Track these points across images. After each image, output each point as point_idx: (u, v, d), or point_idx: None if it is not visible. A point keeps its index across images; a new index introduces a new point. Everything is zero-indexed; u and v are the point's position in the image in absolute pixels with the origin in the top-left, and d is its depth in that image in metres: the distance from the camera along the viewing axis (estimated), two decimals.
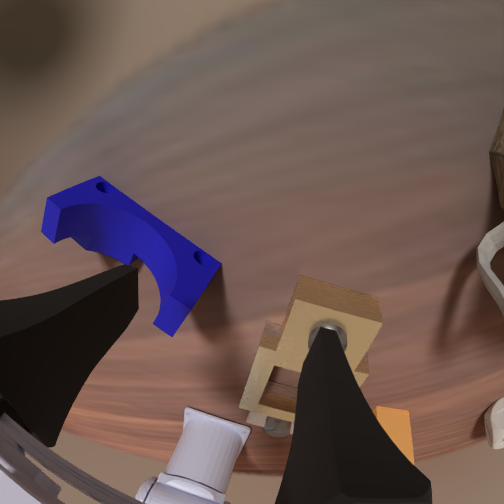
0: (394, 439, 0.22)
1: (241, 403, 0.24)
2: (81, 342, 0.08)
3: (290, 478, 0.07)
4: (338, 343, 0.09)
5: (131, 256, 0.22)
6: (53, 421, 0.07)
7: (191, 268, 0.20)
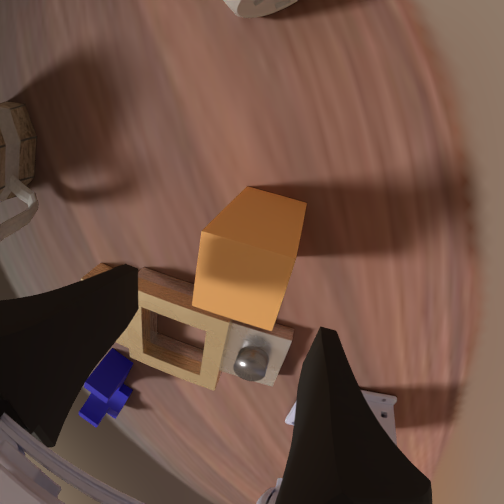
0: None
1: (205, 386, 0.25)
2: (81, 342, 0.08)
3: (290, 478, 0.07)
4: (338, 343, 0.09)
5: (121, 392, 0.33)
6: (53, 421, 0.07)
7: None
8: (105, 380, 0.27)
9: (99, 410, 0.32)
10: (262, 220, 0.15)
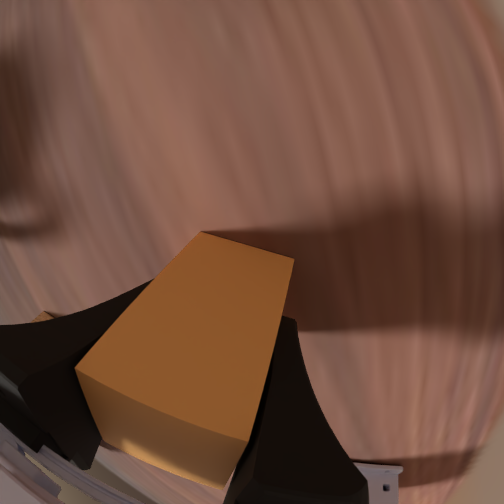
0: None
1: None
2: None
3: (238, 466, 0.07)
4: (293, 331, 0.09)
5: None
6: (90, 445, 0.07)
7: None
8: None
9: None
10: (201, 322, 0.08)
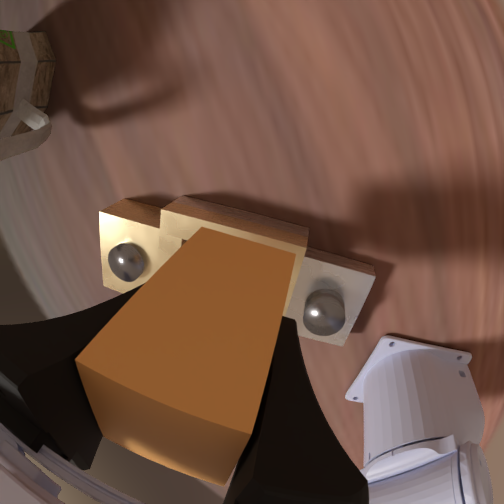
0: None
1: None
2: None
3: (238, 466, 0.07)
4: (293, 331, 0.09)
5: None
6: (90, 445, 0.07)
7: None
8: None
9: None
10: (204, 314, 0.08)
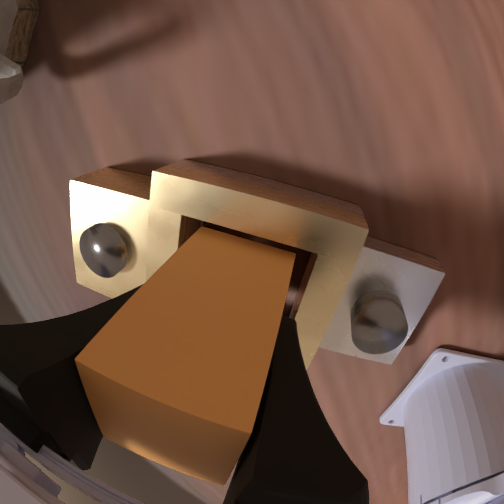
0: None
1: None
2: None
3: (238, 466, 0.07)
4: (293, 331, 0.09)
5: None
6: (90, 445, 0.07)
7: None
8: None
9: None
10: (203, 313, 0.08)
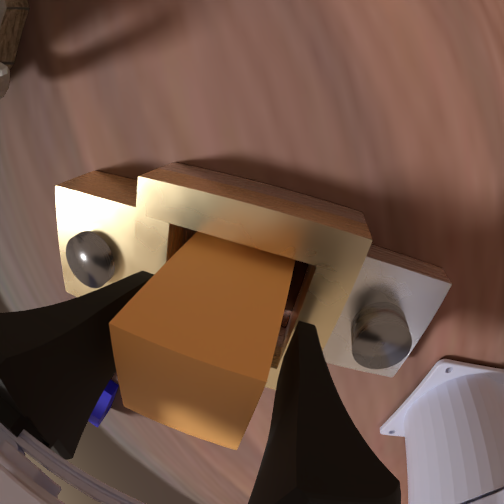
0: None
1: None
2: (100, 352, 0.08)
3: (263, 472, 0.07)
4: (315, 337, 0.09)
5: None
6: (72, 434, 0.07)
7: None
8: None
9: None
10: (221, 287, 0.09)
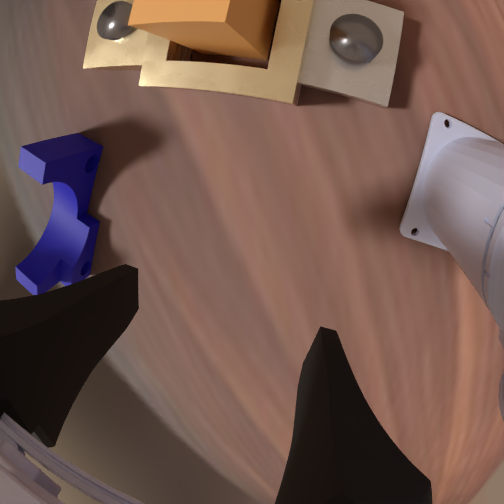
0: None
1: (276, 97, 0.13)
2: (81, 342, 0.08)
3: (290, 478, 0.07)
4: (338, 343, 0.09)
5: (80, 221, 0.21)
6: (53, 421, 0.07)
7: None
8: (52, 149, 0.16)
9: (45, 265, 0.21)
10: None
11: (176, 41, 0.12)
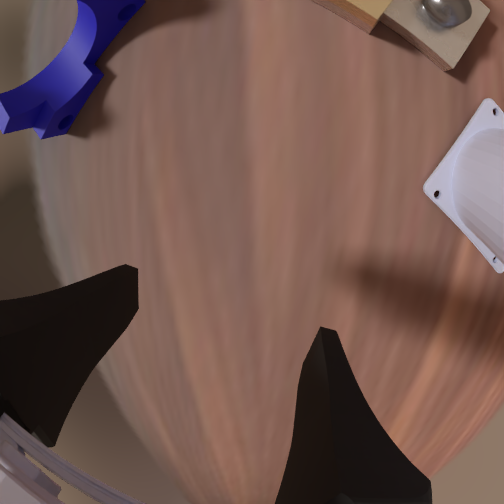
0: None
1: (364, 8, 0.10)
2: (81, 342, 0.08)
3: (290, 478, 0.07)
4: (338, 343, 0.09)
5: (85, 66, 0.16)
6: (53, 421, 0.07)
7: None
8: None
9: (27, 102, 0.15)
10: None
11: None
